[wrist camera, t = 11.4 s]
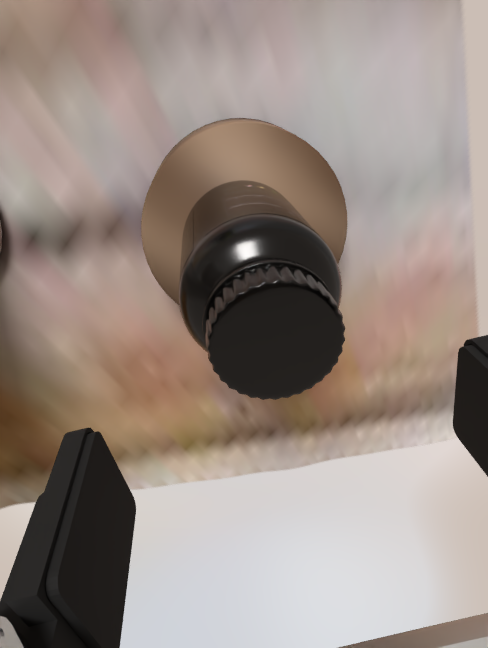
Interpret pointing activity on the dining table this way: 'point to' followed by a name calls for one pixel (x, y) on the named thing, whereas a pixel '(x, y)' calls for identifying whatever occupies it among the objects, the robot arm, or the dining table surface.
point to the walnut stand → (233, 165)
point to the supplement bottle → (260, 291)
